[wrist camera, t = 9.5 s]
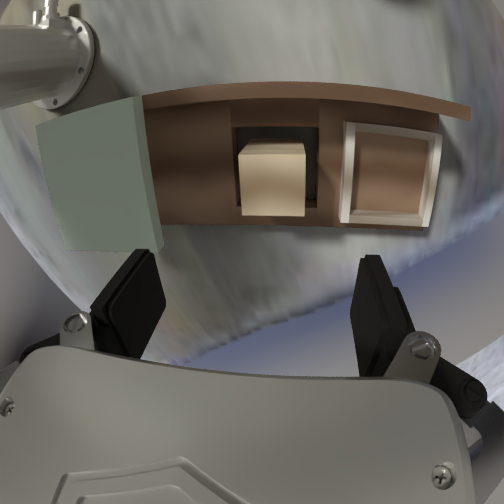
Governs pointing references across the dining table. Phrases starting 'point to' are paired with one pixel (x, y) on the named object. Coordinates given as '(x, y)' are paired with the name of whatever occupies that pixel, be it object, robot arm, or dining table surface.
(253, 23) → the dining table surface
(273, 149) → the beech block
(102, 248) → the sliding cover
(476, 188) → the dining table surface
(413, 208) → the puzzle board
